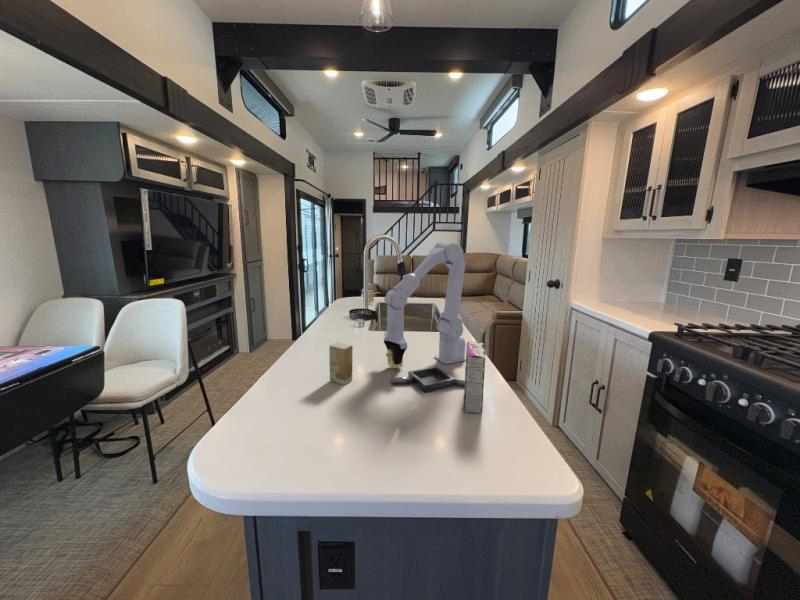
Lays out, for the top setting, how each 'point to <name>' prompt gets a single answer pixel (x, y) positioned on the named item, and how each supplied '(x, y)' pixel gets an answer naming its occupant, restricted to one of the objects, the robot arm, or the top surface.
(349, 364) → the skincare box
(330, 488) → the top surface
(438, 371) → the grey square tray
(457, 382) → the steel shaft
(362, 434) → the top surface
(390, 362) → the brass block with pegs
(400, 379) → the steel shaft
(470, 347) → the candy bar box
